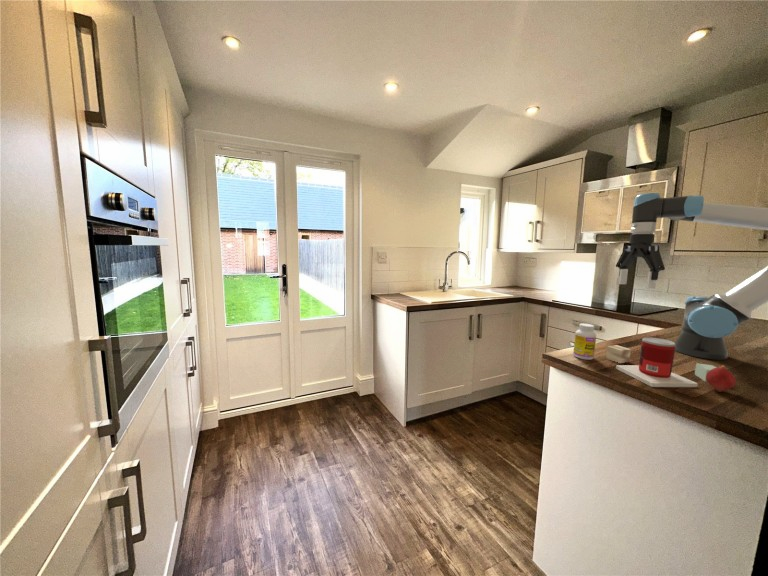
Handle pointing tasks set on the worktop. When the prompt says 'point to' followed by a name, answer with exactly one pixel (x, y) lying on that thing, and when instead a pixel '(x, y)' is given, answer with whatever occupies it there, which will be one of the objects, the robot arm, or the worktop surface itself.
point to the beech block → (618, 354)
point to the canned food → (656, 357)
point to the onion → (720, 379)
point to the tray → (656, 378)
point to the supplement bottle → (585, 342)
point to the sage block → (703, 370)
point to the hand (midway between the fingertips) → (635, 286)
